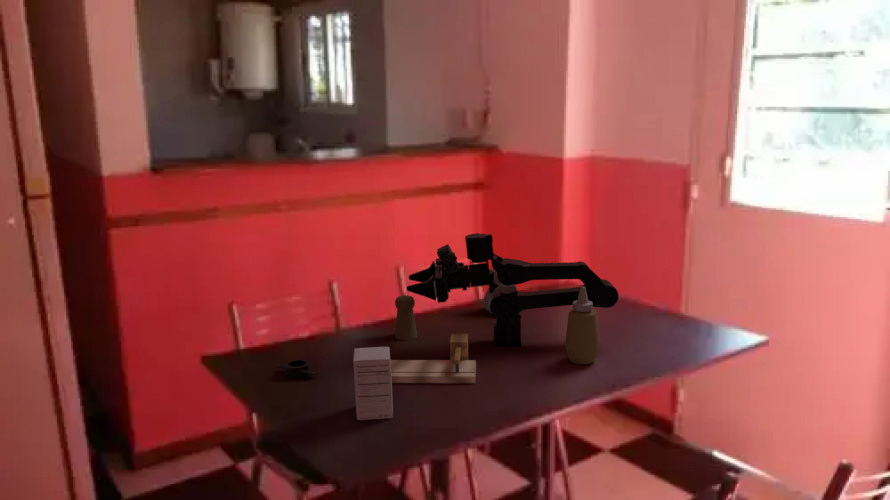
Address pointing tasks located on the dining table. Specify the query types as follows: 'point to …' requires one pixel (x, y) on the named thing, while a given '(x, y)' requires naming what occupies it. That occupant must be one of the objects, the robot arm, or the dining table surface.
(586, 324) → the squeeze bottle
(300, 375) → the dark ring with tabs
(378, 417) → the supplement box
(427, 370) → the board
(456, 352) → the gauge
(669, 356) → the dining table surface
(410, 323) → the cork
